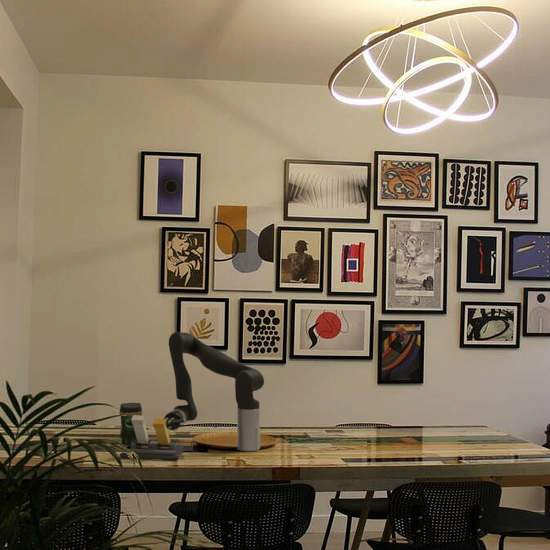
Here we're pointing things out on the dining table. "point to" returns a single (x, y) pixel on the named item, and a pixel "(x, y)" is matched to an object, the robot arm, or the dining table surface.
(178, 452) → the breaker panel
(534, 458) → the dining table surface
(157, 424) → the breaker lever
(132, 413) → the coffee jar
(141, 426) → the lever
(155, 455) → the grey flat bar
